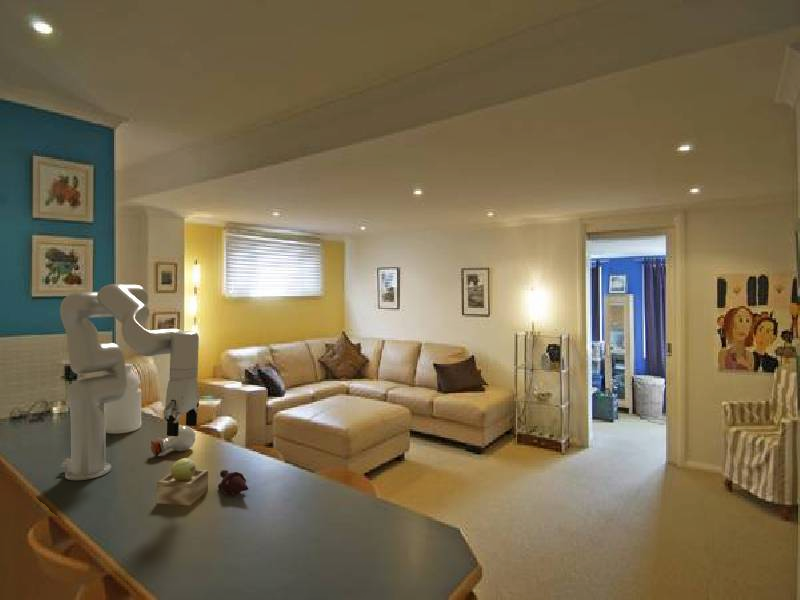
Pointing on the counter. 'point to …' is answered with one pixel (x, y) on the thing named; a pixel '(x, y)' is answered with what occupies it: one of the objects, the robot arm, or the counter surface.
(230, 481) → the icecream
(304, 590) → the counter surface
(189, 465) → the tennis ball
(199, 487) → the wooden box
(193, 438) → the potion bottle
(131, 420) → the bottle
